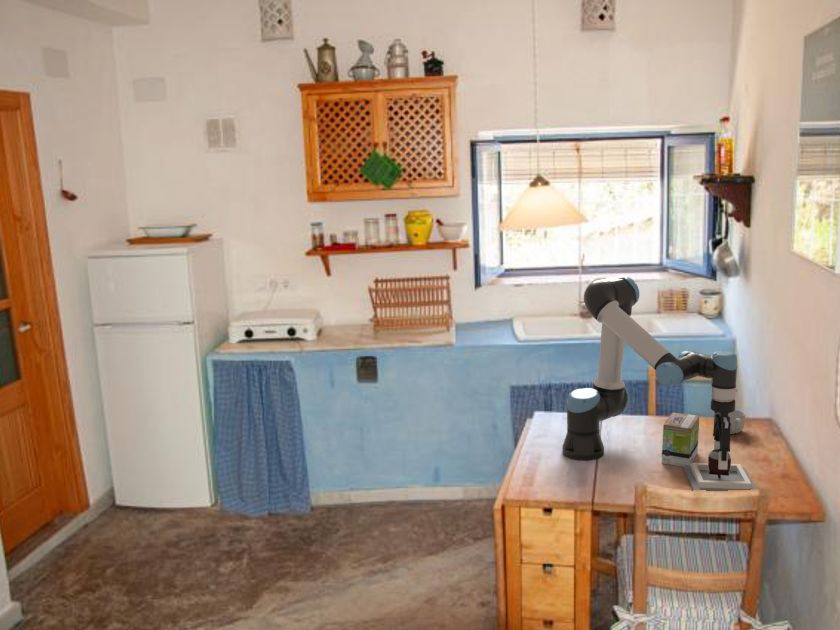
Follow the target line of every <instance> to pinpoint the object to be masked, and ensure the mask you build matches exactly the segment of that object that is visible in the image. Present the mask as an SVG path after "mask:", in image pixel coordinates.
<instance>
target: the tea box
mask: <svg viewBox="0 0 840 630" xmlns="http://www.w3.org/2000/svg"><path fill="white" fill-rule="evenodd" d="M662 425H663V427H662V428H663V429H662V443H661V444H662V446H661V463H662V464H665V465H671V466H677V467H682V468H684V466H691V463H693V461H694V459H695V458H696V456H697V454H698V450H699V449H698V447H699V431H700V429H699V428H700V416H699V415H694V414H689V413H688V414H687V413H681V412H671V413H670V415H669V417H668V418H667V419H666V421H665V422H664V424H662Z"/></svg>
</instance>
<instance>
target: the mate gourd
mask: <svg viewBox="0 0 840 630" xmlns="http://www.w3.org/2000/svg"><path fill="white" fill-rule="evenodd" d="M731 431H732V428H731V430H730V433H731ZM718 462H719V451H718V449H715V450H714V449H713V450H711V451H710V452H709V454H708V458H707V463H708V467H709V470H710V472H709V474H713V475H718V478H721V475H726V476H729V470H730V466H731V464H732V459H731V454H730V453H729V452H728V466H727V470H724V469H718Z"/></svg>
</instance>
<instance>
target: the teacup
mask: <svg viewBox="0 0 840 630" xmlns="http://www.w3.org/2000/svg"><path fill="white" fill-rule="evenodd" d="M746 415H747V414H746V412H744V411H743V410H739V409H736V408H735V411H734V412H731V413H729V414H728V417H730V422H731V427H730V430H731V428H732V431H731V433H730V435H732V434H733V435H735V433H736V434H739V433H740V432H742V431H743V430H744V428H745V423H746V422H745V421H746V417H747V416H746Z"/></svg>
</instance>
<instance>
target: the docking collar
mask: <svg viewBox="0 0 840 630" xmlns="http://www.w3.org/2000/svg"><path fill="white" fill-rule="evenodd" d="M683 469H684V472H685V475H686V477H687V479H688V482H689V485H690V487H691V490H692V491H693V490H706V491H728V490H751V489H758V488H757V486H756V484H755V483H754V481H753V479H752V477H751V476H750V474H749V472H748V471H747V469H746V467H745V466H742V465H741V464H740V463H731V466H730V470H729V476H726V475H721V478H718V475H713V474H709V472H710V470H709V467H708V462H692V463H691V465H690V466H684V467H683Z"/></svg>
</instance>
